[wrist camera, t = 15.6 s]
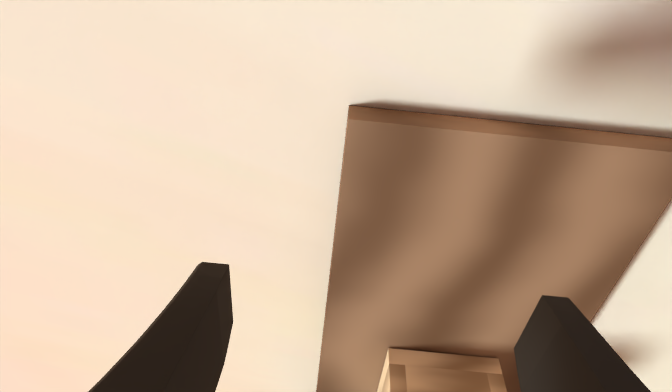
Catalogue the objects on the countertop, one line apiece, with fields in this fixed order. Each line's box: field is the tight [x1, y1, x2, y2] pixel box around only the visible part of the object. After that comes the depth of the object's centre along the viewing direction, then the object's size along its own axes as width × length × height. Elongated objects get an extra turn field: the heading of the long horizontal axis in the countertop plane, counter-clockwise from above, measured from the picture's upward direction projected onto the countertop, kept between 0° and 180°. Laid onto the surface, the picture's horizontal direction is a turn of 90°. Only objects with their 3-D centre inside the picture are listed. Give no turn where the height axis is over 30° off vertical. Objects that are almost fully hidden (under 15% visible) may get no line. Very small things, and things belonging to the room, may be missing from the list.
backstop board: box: [316, 105, 672, 392], centre depth 25 cm, size 14×24×5 cm, turn 175°
